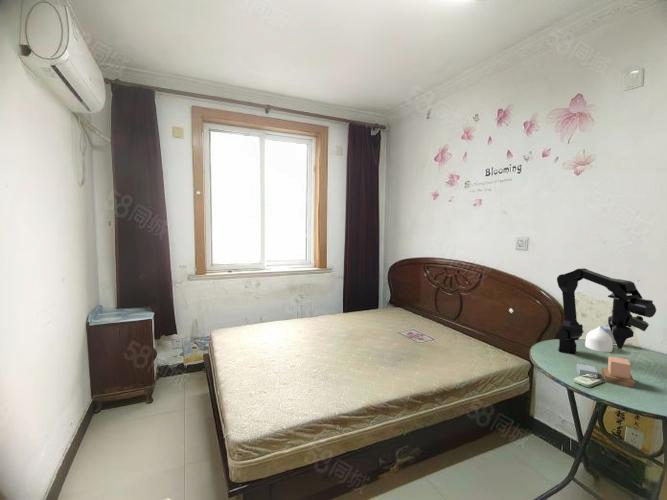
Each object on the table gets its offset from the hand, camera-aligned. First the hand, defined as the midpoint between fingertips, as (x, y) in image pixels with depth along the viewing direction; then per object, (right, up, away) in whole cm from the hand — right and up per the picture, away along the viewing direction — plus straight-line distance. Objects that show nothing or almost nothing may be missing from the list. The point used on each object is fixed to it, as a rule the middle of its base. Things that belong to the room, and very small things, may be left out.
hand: (618, 344), depth 135 cm
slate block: (-13, -13, +1) cm, 19 cm away
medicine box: (+25, -9, +31) cm, 41 cm away
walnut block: (-5, -14, -5) cm, 15 cm away
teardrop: (+15, -10, +27) cm, 33 cm away
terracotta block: (-5, -11, -5) cm, 13 cm away
